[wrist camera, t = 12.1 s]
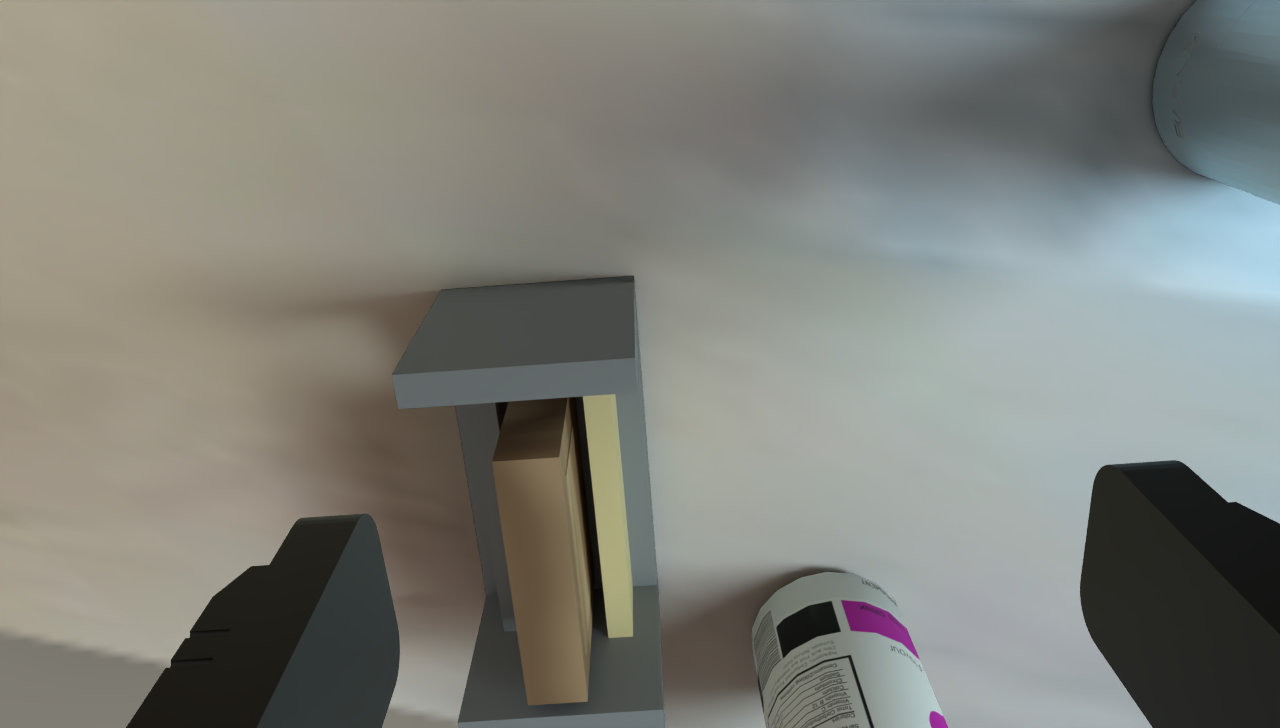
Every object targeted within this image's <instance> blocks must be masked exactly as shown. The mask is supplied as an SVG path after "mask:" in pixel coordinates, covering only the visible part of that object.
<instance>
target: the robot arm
mask: <svg viewBox="0 0 1280 728" xmlns="http://www.w3.org/2000/svg"><path fill="white" fill-rule="evenodd" d="M1153 111H1154V116H1155V122H1156V127H1157V129H1158V131H1159V133H1160V136H1161V138H1162V140H1163V142H1164V144H1165V146H1166V147H1167V148H1168V150H1169V151H1170V152H1171V153H1172V154H1173V156H1174V157H1175V158H1176V159H1177V161H1179V162H1180V163H1182V164H1183V165H1184V166H1186V167H1187V168H1189V169H1190V170H1191V171H1193V172H1195V173H1197V174H1200V175H1203V176H1205V177H1208V178H1210V179H1213V180H1216V181H1218V182H1221V183H1224V184H1226V185H1229V186H1232V187H1234V188H1237V189H1240V190H1242V191H1245V192H1248V193H1250V194H1252V195H1255V196H1257V197H1260V198H1263V199H1266V200H1268V201H1271V202H1274V203H1277V204H1279V205H1280V0H1197V1H1196V2H1195V3H1194V4H1193V5H1192V6H1191V7H1190V8H1189V9H1188V10H1187V11H1186V12H1185V13H1184V14H1183V16H1182V17H1181V19H1180V20H1179V22H1178V23H1177V25H1176V26H1175V28H1174V29H1173V31H1172V32H1171V34H1170V35H1169V37H1168V40H1167V42H1166V44H1165V46H1164V49H1163V51H1162V53H1161V55H1160V58H1159V60H1158V65H1157V69H1156V73H1155V78H1154V82H1153ZM1080 597H1081V606H1082V611H1083V616H1084V619H1085V623H1086V626H1087V628H1088V631H1089V633H1090V635H1091V637H1092V639H1093V641H1094V643H1095V644H1096V646H1097V647H1098V649H1099V650H1100V652H1101V653H1102V654H1103V656H1104V657H1105V659H1106V660H1107V662H1108V663H1109V665H1110V666H1111V667H1112V669H1113V670H1114V672H1115V673H1116V675H1117V676H1118V678H1119V679H1120V681H1121V682H1122V683H1123V685H1124V686H1125V688H1126V689H1127V691H1128V692H1129V694H1130V695H1131V697H1132V698H1133V699H1134V701H1135V702H1136V704H1137V705H1138V707H1139V708H1140V710H1141V711H1142V713H1143V714H1144V715H1145V717H1146V718H1147V720H1148V721H1149V723H1150V724H1151V726H1152V727H1153V728H1280V524H1279V523H1277V522H1275V521H1273V520H1271V519H1269V518H1267V517H1265V516H1263V515H1261V514H1259V513H1257V512H1255V511H1253V510H1251V509H1249V508H1247V507H1245V506H1243V505H1241V504H1239V503H1237V502H1230V503H1228V502H1227V501H1226V500H1225V499H1223V498H1222V497H1221V496H1220V495H1219V494H1218V493H1217V492H1216V491H1215V490H1213V489H1212V488H1211V487H1210V486H1209V485H1208V484H1207V483H1206V482H1204V481H1203V480H1202V479H1201V478H1200V477H1199V476H1198V475H1197V474H1195V473H1194V472H1193V471H1192V470H1191V469H1190V468H1189V467H1188V466H1186V465H1185V464H1184V463H1182V462H1179V461H1174V460H1172V461H1157V462H1143V463H1128V464H1113V465H1105V466H1103V467H1102V468H1101V469H1100V470H1099V471H1098V473H1097V475H1096V477H1095V480H1094V484H1093V490H1092V497H1091V505H1090V513H1089V520H1088V528H1087V536H1086V543H1085V551H1084V559H1083V566H1082V574H1081V582H1080ZM399 656H400V643H399V631H398V625H397V620H396V615H395V611H394V606H393V601H392V596H391V592H390V587H389V582H388V577H387V573H386V568H385V563H384V559H383V554H382V549H381V544H380V540H379V535H378V531H377V528H376V525H375V522H374V520H373V519H372V517H371V516H370V515H369V514H354V515H339V516H324V517H310V518H301V519H299V520H297V521H296V522H295V524H294V525H293V527H292V528H291V530H290V532H289V533H288V535H287V537H286V538H285V540H284V542H283V543H282V545H281V547H280V548H279V550H278V552H277V553H276V555H275V557H274V558H273V560H272V562H271V563H270V565H264V566H251V567H250V568H248V569H247V570H246V571H245V572H243V573H242V574H241V575H240V576H238V577H237V578H236V579H235V580H233V581H232V582H231V583H230V584H228V585H227V586H226V587H225V588H223V589H222V590H221V591H220V592H218V593H217V594H216V595H215V596H213V597H212V599H211V600H210V602H209V603H208V605H207V606H206V608H205V609H204V611H203V612H202V614H201V616H200V617H199V619H198V620H197V622H196V623H195V625H194V626H193V628H192V629H191V631H190V638H185V640H184V641H183V643H182V644H181V646H180V647H179V649H178V650H177V652H176V653H175V655H174V656H173V658H172V659H171V667H170V668H165V670H164V671H163V673H162V674H161V676H160V677H159V679H158V681H157V682H156V683H155V685H154V687H153V688H152V689H151V691H150V693H149V694H148V696H147V697H146V698H145V700H144V702H143V703H142V705H141V706H140V708H139V709H138V711H137V712H136V714H135V715H134V717H133V718H132V720H131V722H130V723H129V724H128V726H127V727H126V728H382V725H383V722H384V719H385V716H386V713H387V710H388V707H389V704H390V700H391V697H392V694H393V691H394V688H395V685H396V681H397V676H398V669H399Z"/></svg>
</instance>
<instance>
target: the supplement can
mask: <svg viewBox="0 0 1280 728" xmlns="http://www.w3.org/2000/svg"><path fill="white" fill-rule="evenodd" d="M752 652H753V657H754V663H755V668H756V674H757V679H758V685H759V691H760V696H761V702H762V707H763V713H764V718H765V724H766V728H948V726H947V724H946V721H945V719H944V717H943V714H942V712H941V710H940V707H939V705H938V702H937V700H936V698H935V695H934V693H933V690H932V688H931V686H930V683H929V681H928V678H927V676H926V674H925V671H924V669H923V667H922V664H921V662H920V659H919V657H918V655H917V652H916V650H915V647H914V645H913V643H912V640H911V638H910V636H909V633H908V631H907V628H906V626H905V624H904V621H903V619H902V616H901V614H900V612H899V609H898V607H897V605H896V602H895V600H894V599H893V598H892V597H891V596H890V595H889V594H888V593H887V592H886V591H885V590H884V589H883V588H882V587H881V586H880V585H878V584H877V583H875V582H872V581H870V580H868V579H865V578H863V577H860V576H858V575H856V574H849V573H836V572H824V573H819V574H815V575H810V576H805V577H801V578H799V579H797V580H795V581H793V582H791V583H790V584H788V585H786V586H784V587H782V588H780V589H779V590H777V591H776V592H775V593H774V594H773V595H772V596H771V597H770V599H769V600H768V601H767V602H766V603H765V604H764V605H763V606H762V607H761V608H760V610H759V613H758V615H757V618H756V620H755V623H754V625H753V627H752Z"/></svg>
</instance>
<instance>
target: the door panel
mask: <svg viewBox="0 0 1280 728" xmlns="http://www.w3.org/2000/svg"><path fill="white" fill-rule="evenodd" d="M492 467H493V474H494V480H495V487H496V494H497V501H498V507H499V514H500V521H501V527H502V534H503V541H504V548H505V554H506V561H507V568H508V575H509V581H510V588H511V595H512V602H513V608H514V615H515V622H516V629H517V635H518V642H519V649H520V656H521V662H522V669H523V676H524V682H525V689H526V696H527V703H528V705H542V704H558V703H574V702H588V687H589V670H590V652H591V635H592V618H593V600H594V583H595V575H594V566H593V556H592V547H591V537H590V528H589V519H588V509H587V500H586V490H585V481H584V471H583V462H582V453H581V443H580V434H579V424H578V415H577V405H576V397H567V398H552V399H538V400H524V401H510V402H508V405H507V409H506V413H505V416H504V420H503V423H502V427H501V431H500V434H499V438H498V441H497V445H496V448H495V452H494V456H493V459H492Z"/></svg>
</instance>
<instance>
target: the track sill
mask: <svg viewBox="0 0 1280 728" xmlns="http://www.w3.org/2000/svg"><path fill="white" fill-rule="evenodd" d="M392 380H393V385H394V391H395V396H396V401H397V406H398V409H410V408H424V407H438V406H453V405H455V407H456V413H457V419H458V425H459V432H460V438H461V444H462V450H463V456H464V462H465V468H466V474H467V480H468V486H469V493H470V499H471V505H472V511H473V517H474V523H475V529H476V535H477V541H478V547H479V554H480V560H481V566H482V572H483V578H484V584H485V590H486V601H485V605H484V609H483V614H482V618H481V623H480V627H479V631H478V636H477V640H476V645H475V649H474V653H473V658H472V662H471V666H470V671H469V675H468V680H467V684H466V688H465V693H464V697H463V702H462V706H461V710H460V715H459V719H458V727H459V728H665V719H664V697H663V676H662V654H661V632H660V611H659V592H658V579H657V566H656V553H655V541H654V528H653V515H652V502H651V490H650V477H649V464H648V451H647V438H646V426H645V413H644V400H643V387H642V375H641V362H640V349H639V336H638V323H637V311H636V298H635V285H634V276H625V277H611V278H598V279H584V280H570V281H556V282H542V283H529V284H515V285H501V286H487V287H473V288H460V289H446V290H441V291H440V293H439V295H438V296H437V298H436V300H435V302H434V303H433V305H432V307H431V308H430V310H429V312H428V314H427V315H426V317H425V319H424V320H423V322H422V324H421V326H420V327H419V329H418V331H417V332H416V334H415V336H414V338H413V339H412V341H411V343H410V344H409V346H408V348H407V350H406V351H405V353H404V355H403V356H402V358H401V360H400V362H399V363H398V365H397V367H396V368H395V370H394V372H393V373H392ZM567 397H576V405H577V415H578V424H579V434H580V443H581V453H582V462H583V471H584V481H585V490H586V500H587V509H588V519H589V528H590V537H591V547H592V556H593V566H594V575H595V583H594V600H593V618H592V635H591V652H590V670H589V687H588V702H574V703H558V704H542V705H528V703H527V696H526V689H525V682H524V676H523V669H522V662H521V656H520V649H519V642H518V635H517V629H516V622H515V615H514V608H513V602H512V595H511V588H510V581H509V575H508V568H507V561H506V554H505V548H504V541H503V534H502V527H501V521H500V514H499V507H498V501H497V494H496V487H495V480H494V474H493V467H492V459H493V456H494V452H495V448H496V445H497V441H498V438H499V434H500V431H501V427H502V423H503V420H504V416H505V413H506V409H507V405H508V402H510V401H524V400H538V399H552V398H567Z"/></svg>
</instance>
